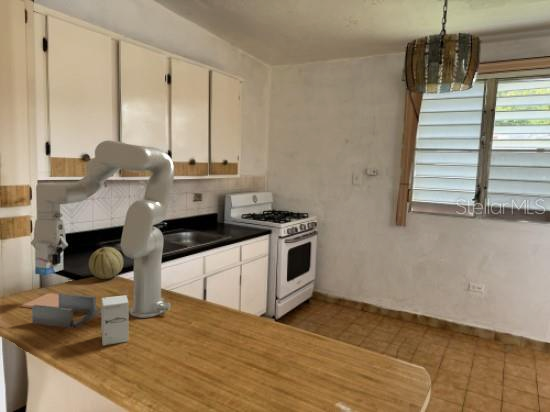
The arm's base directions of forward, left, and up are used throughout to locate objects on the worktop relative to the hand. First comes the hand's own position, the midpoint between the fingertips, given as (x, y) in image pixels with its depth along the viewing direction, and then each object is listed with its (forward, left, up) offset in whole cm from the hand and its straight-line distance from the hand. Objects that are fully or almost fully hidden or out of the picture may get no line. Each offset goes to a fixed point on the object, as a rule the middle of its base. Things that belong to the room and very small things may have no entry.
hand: (49, 262), depth 138 cm
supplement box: (-40, +21, -16) cm, 48 cm away
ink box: (0, 0, -4) cm, 4 cm away
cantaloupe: (-2, -33, -16) cm, 36 cm away
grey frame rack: (-15, +11, -15) cm, 24 cm away
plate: (0, 0, -15) cm, 15 cm away
